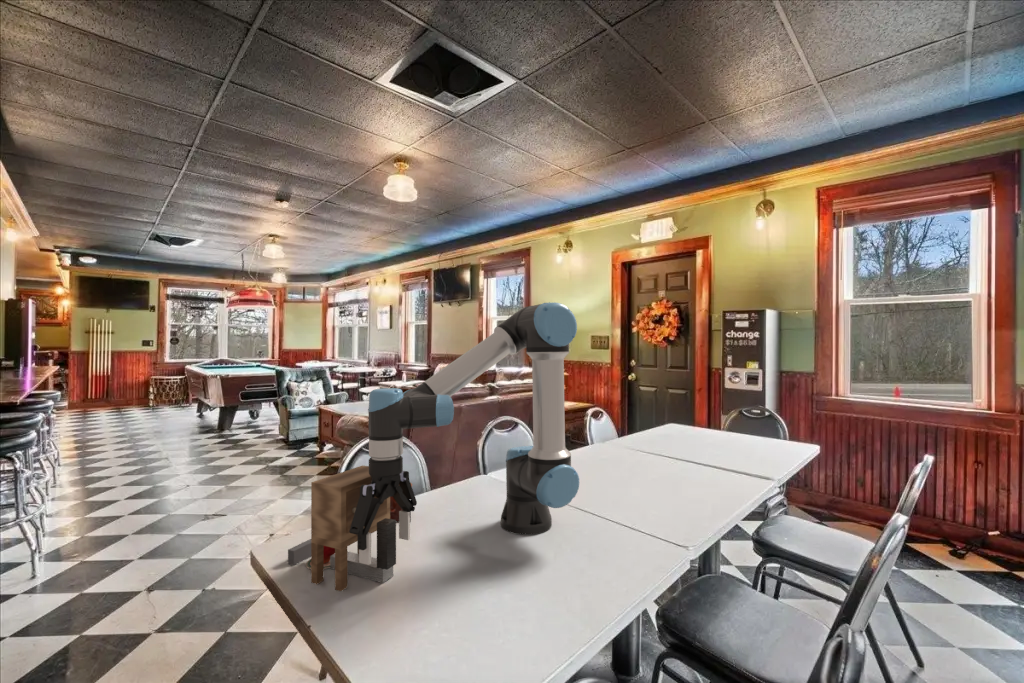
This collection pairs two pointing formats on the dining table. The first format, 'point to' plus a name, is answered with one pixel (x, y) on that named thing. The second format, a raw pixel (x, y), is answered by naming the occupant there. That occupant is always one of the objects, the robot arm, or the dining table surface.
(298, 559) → the block
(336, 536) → the cabinet
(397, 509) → the mug
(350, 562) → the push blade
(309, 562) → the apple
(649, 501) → the dining table surface
